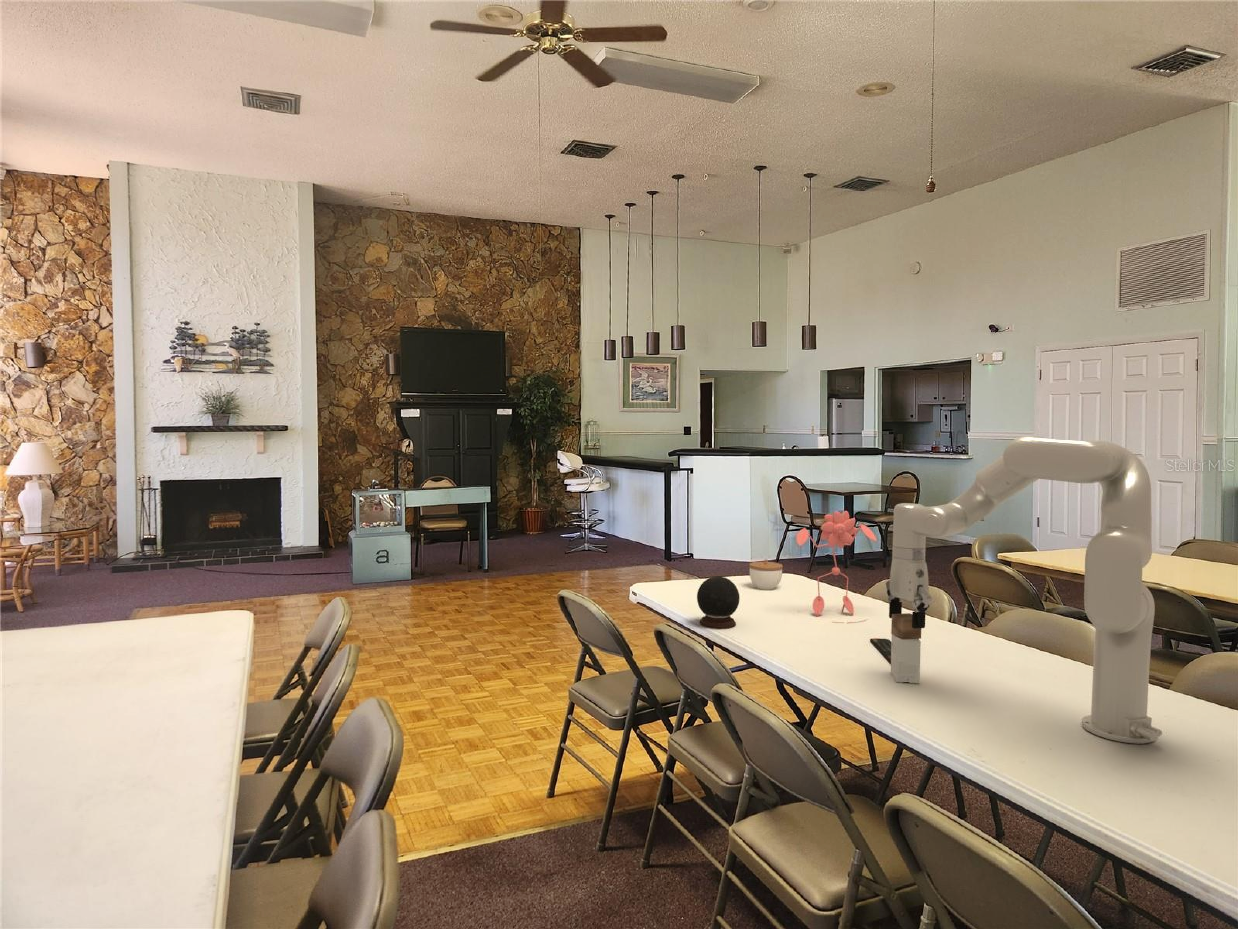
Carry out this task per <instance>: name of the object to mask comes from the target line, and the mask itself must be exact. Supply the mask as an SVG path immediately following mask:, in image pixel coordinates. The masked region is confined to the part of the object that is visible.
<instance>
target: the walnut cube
mask: <svg viewBox="0 0 1238 929" xmlns="http://www.w3.org/2000/svg"><path fill="white" fill-rule="evenodd" d="M890 629H891V630H890V634H891V635H892V634H893V635H895V636H897V637H899V638H901V639H919V640H921V639H922V628H917V629H914V628H912V613H911V612H910V613H909V612H908V613H902V614H892V618H891V628H890Z"/></svg>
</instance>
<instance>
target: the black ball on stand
mask: <svg viewBox="0 0 1238 929" xmlns="http://www.w3.org/2000/svg"><path fill="white" fill-rule="evenodd" d="M696 593H697V594H696V601H697V602H696V603H697V604H698V608H699V609H700V610H701V612H702V613H703V614H704V616H702V617H701V619H700V620H699V625H700V626H701V627H703V628H706V629H710V630H711V629H714V630H728V629H729V630H730V629H733V628H736V625H737V623H736V621H735V619H734V618H733V617H731V616H732V615H733V614H734V613H735V612H736V611H737V609H738V607H739V605H740V592H739V589H738V588H737V586H736V584H735V583H734V582H733V581H732V580H731V579H728V578H727V577H725V576H718V575H717V576H712V577H711V576H710V577H709V578H707V579H704V581H703V582H702V583H701V584H700V586H699V587H698V590H697V592H696Z"/></svg>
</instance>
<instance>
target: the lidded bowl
mask: <svg viewBox="0 0 1238 929" xmlns="http://www.w3.org/2000/svg"><path fill="white" fill-rule="evenodd" d="M748 566H749V567H748V568H749V578H750V580H751V582H752V584H753V585H754V586H755V588H756V589H758V590H764V591H773V590H775V589H776V588H777V587H778V586H779V584H780V583H781V581H782V577H783V567H784V566H783V564H782V563H778V562H774V561H773V562H772V561H769V560H768V559H767V558H766V559H765V558H764V561H753V562H749V564H748Z"/></svg>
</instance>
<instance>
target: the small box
mask: <svg viewBox="0 0 1238 929" xmlns="http://www.w3.org/2000/svg"><path fill="white" fill-rule="evenodd" d="M890 641H891V664H890V673H891V675H892V677H893V679H894V680H895V683H903V682H909V683H908V684H920V680H921V679H920V677H921V642H922V641H921V639H901V638H899V637H897V636H895V635H893V634H891V640H890Z"/></svg>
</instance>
